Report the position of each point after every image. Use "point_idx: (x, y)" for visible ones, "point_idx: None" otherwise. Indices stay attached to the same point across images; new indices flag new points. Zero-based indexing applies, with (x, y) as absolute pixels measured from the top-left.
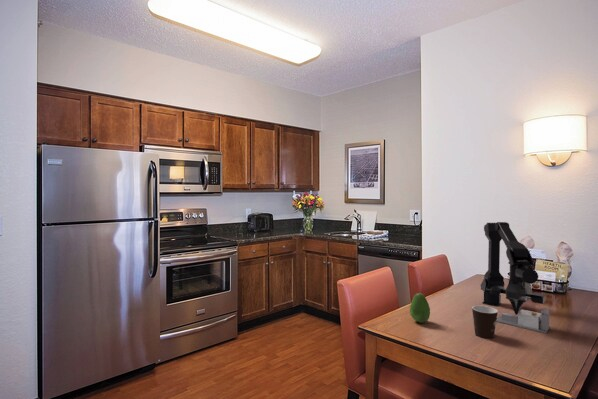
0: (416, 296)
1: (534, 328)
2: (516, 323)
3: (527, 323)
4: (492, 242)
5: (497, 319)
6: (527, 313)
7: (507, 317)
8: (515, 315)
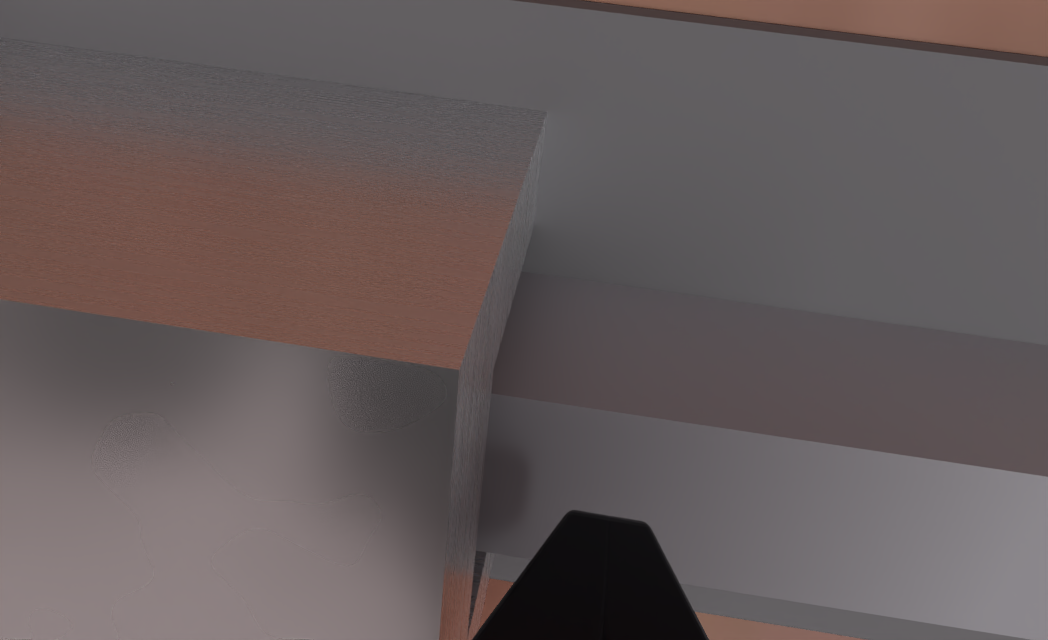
0: None
1: (17, 45)
2: (603, 252)
3: (177, 119)
4: None
5: None
6: (38, 526)
7: (929, 400)
8: None
